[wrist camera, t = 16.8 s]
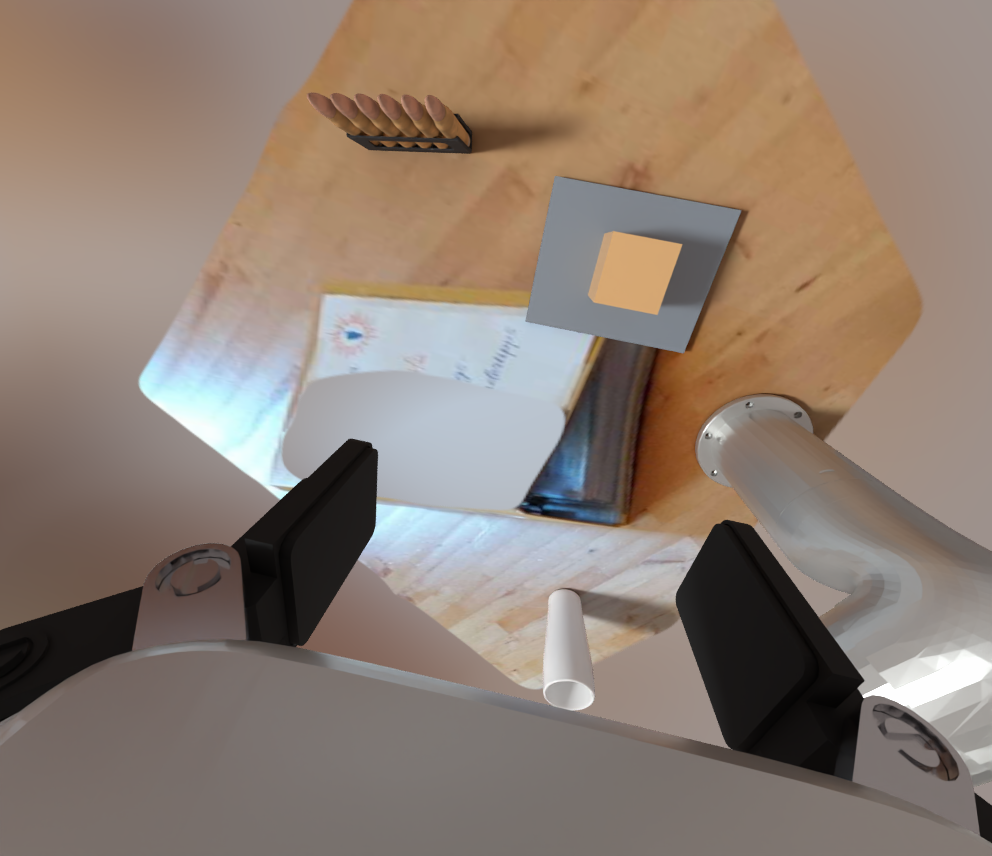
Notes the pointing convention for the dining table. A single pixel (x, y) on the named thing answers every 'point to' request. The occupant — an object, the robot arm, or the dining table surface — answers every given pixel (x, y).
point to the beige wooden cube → (633, 271)
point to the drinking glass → (567, 654)
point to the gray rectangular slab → (601, 209)
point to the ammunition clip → (396, 123)
